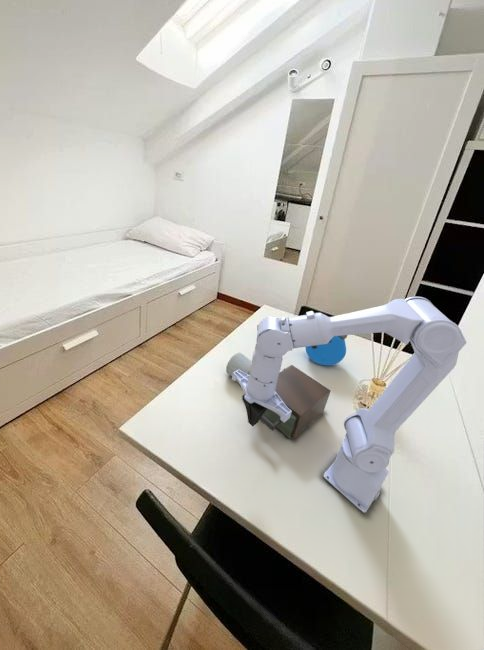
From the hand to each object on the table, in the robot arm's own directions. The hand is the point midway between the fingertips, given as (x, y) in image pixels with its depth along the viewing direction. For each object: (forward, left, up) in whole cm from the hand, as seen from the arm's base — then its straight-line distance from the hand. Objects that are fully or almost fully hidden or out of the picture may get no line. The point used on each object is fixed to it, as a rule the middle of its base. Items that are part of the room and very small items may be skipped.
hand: (253, 422), depth 64 cm
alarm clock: (+9, -49, -11) cm, 51 cm away
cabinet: (+2, -20, -10) cm, 23 cm away
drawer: (+2, -16, -9) cm, 18 cm away
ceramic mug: (+19, -19, -11) cm, 29 cm away
